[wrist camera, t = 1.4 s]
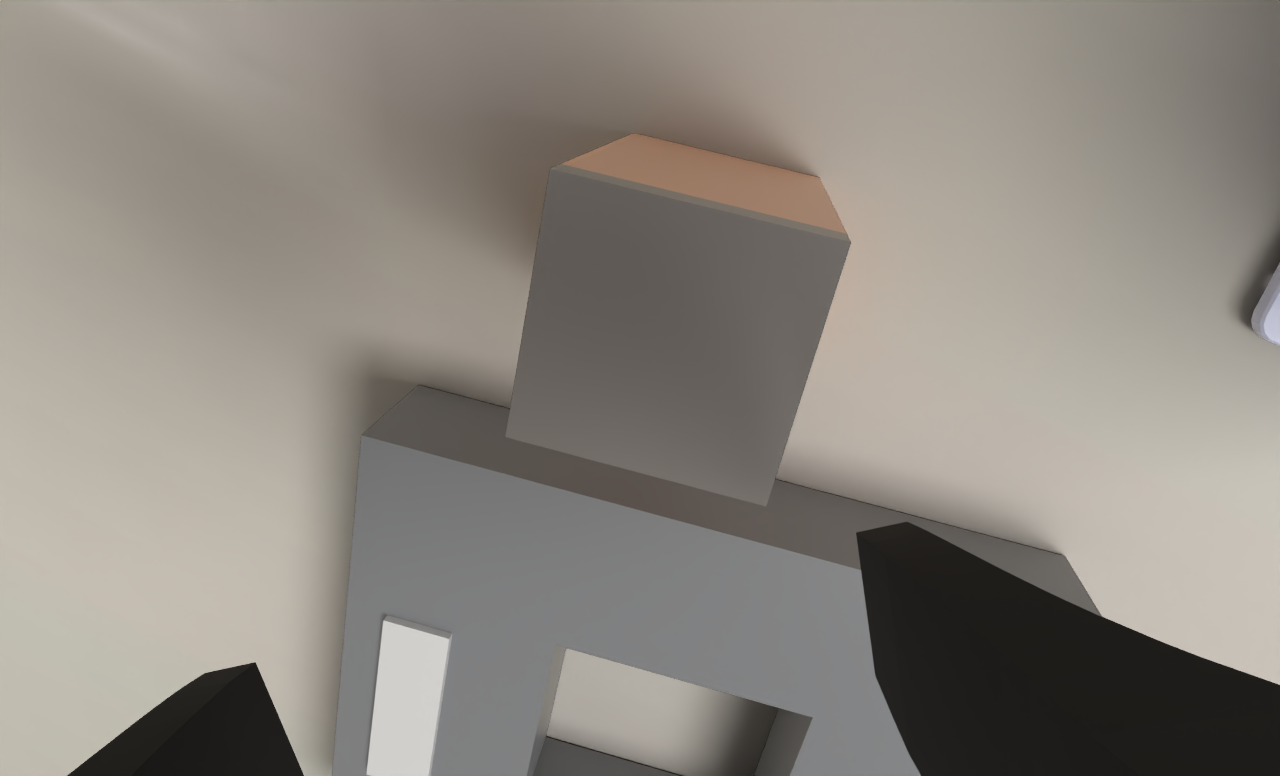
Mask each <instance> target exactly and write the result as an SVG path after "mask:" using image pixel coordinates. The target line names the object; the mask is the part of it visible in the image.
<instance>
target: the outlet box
mask: <svg viewBox="0 0 1280 776" xmlns="http://www.w3.org/2000/svg"><path fill="white" fill-rule="evenodd" d="M509 412H510V409H508V408H504V407H500V406H496V405H492V404H489V403H485V402H481V401H477V400H474V399H470V398H466V397H462V396H459V395H455V394H451V393H447V392H443V391H440V390H436V389H432V388H428V387H425V386H421V385H418V386H417V387H416V388H415V389H413V390H412V391H411V392H410V393H409V394H408V395H407V396H405V397H404V398H403V399H402V400H401V401H400V402H399V403H397V404H396V405H395V406H394V407H393V408H392V409H391V410H389V411H388V412H387V413H386V414H385V415H384V416H383V417H381V418H380V419H379V420H378V421H377V422H376V423H375V424H373V425H372V426H371V427H370V428H369V429H368V430H367V431H366V432H364V433H363V434H362V435H361V445H360V456H359V468H358V479H357V491H356V502H355V514H354V525H353V537H352V549H351V560H350V572H349V583H348V595H347V606H346V618H345V630H344V641H343V653H342V664H341V676H340V687H339V699H338V710H337V722H336V734H335V745H334V757H333V768H332V776H679V775H675V774H672V773H668V772H665V771H662V770H658V769H655V768H651V767H648V766H644V765H641V764H637V763H634V762H631V761H627V760H624V759H620V758H617V757H613V756H610V755H606V754H603V753H600V752H596V751H593V750H589V749H586V748H582V747H579V746H575V745H572V744H568V743H565V742H562V741H558V740H555V739H551V738H548V737H546V735H547V731H548V726H549V722H550V717H551V713H552V708H553V704H554V699H555V695H556V691H557V686H558V682H559V677H560V673H561V668H562V664H563V660H564V655H565V651H566V648H568V649H572V650H575V651H579V652H582V653H586V654H589V655H593V656H597V657H600V658H604V659H607V660H611V661H614V662H618V663H621V664H625V665H628V666H632V667H636V668H639V669H643V670H646V671H650V672H653V673H657V674H660V675H664V676H667V677H671V678H674V679H678V680H682V681H685V682H689V683H692V684H696V685H699V686H703V687H706V688H710V689H713V690H717V691H720V692H724V693H728V694H731V695H735V696H738V697H742V698H745V699H749V700H752V701H756V702H759V703H763V704H766V705H770V706H774V707H777V708H779V709H778V712H777V715H776V717H775V720H774V723H773V725H772V728H771V731H770V734H769V736H768V739H767V742H766V744H765V747H764V750H763V752H762V755H761V758H760V760H759V763H758V766H757V769H756V771H755V774H754V776H921V775H920V773H919V771H918V769H917V768H916V766H915V764H914V762H913V760H912V759H911V757H910V755H909V753H908V751H907V749H906V746H905V744H904V742H903V739H902V737H901V735H900V733H899V730H898V728H897V726H896V724H895V721H894V719H893V717H892V714H891V712H890V710H889V707H888V705H887V703H886V700H885V698H884V695H883V693H882V691H881V688H880V686H879V684H878V681H877V679H876V676H875V670H874V662H873V655H872V648H871V640H870V633H869V625H868V618H867V611H866V603H865V596H864V588H863V581H862V573H861V566H860V559H859V551H858V544H857V536H856V532H861V531H865V530H870V529H875V528H879V527H884V526H888V525H893V524H898V523H902V522H909V523H912V524H914V525H916V526H918V527H920V528H922V529H924V530H927V531H929V532H931V533H932V534H934V535H936V536H938V537H940V538H942V539H944V540H946V541H948V542H950V543H952V544H954V545H956V546H958V547H960V548H962V549H963V550H965V551H967V552H969V553H971V554H973V555H975V556H977V557H979V558H981V559H983V560H985V561H987V562H989V563H991V564H993V565H994V566H996V567H998V568H1000V569H1002V570H1004V571H1006V572H1008V573H1010V574H1012V575H1014V576H1016V577H1018V578H1020V579H1022V580H1024V581H1026V582H1028V583H1031V584H1033V585H1035V586H1037V587H1039V588H1041V589H1043V590H1045V591H1047V592H1049V593H1051V594H1053V595H1055V596H1057V597H1060V598H1062V599H1064V600H1066V601H1068V602H1070V603H1073V604H1075V605H1077V606H1079V607H1081V608H1083V609H1086V610H1088V611H1090V612H1092V613H1094V614H1097V615H1099V616H1101V614H1100V612H1099V611H1098V609H1097V608H1096V606H1095V604H1094V603H1093V601H1092V599H1091V598H1090V596H1089V594H1088V593H1087V591H1086V590H1085V588H1084V586H1083V585H1082V583H1081V581H1080V580H1079V578H1078V576H1077V575H1076V573H1075V572H1074V570H1073V568H1072V567H1071V565H1070V563H1069V562H1068V560H1067V558H1066V557H1065V556H1063V555H1059V554H1055V553H1051V552H1048V551H1044V550H1040V549H1036V548H1032V547H1029V546H1025V545H1021V544H1017V543H1014V542H1010V541H1006V540H1002V539H998V538H995V537H991V536H987V535H983V534H980V533H976V532H972V531H968V530H964V529H961V528H957V527H953V526H949V525H946V524H942V523H938V522H934V521H931V520H927V519H923V518H919V517H915V516H912V515H908V514H904V513H900V512H897V511H893V510H889V509H885V508H881V507H878V506H874V505H870V504H866V503H863V502H859V501H855V500H851V499H847V498H844V497H840V496H836V495H832V494H829V493H825V492H821V491H817V490H813V489H810V488H806V487H802V486H798V485H795V484H791V483H787V482H783V481H779V480H776V479H775V480H774V484H773V487H772V490H771V493H770V496H769V499H768V502H767V505H766V506H762V505H759V504H755V503H751V502H747V501H743V500H740V499H736V498H732V497H728V496H725V495H721V494H717V493H713V492H710V491H706V490H702V489H698V488H695V487H691V486H687V485H683V484H680V483H676V482H672V481H668V480H665V479H661V478H657V477H653V476H650V475H646V474H642V473H638V472H635V471H631V470H627V469H623V468H620V467H616V466H612V465H608V464H605V463H601V462H597V461H593V460H589V459H586V458H582V457H578V456H574V455H571V454H567V453H563V452H559V451H556V450H552V449H548V448H544V447H541V446H537V445H533V444H529V443H526V442H522V441H518V440H514V439H511V438H507V437H505V436H506V430H507V424H508V418H509ZM1101 617H1102V616H1101Z"/></svg>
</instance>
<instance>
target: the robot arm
mask: <svg viewBox="0 0 1280 776" xmlns="http://www.w3.org/2000/svg"><path fill="white" fill-rule="evenodd" d="M1251 323H1252V329H1253V330H1254V331H1255V333H1256V334H1257V335H1258V336H1259V337H1261V338H1263V339H1265V340H1267V341H1269V342H1271V343H1273V344H1276V345H1280V263H1279V265H1278V267H1277V269H1276V271H1275V272H1274V274H1273V276H1272V278H1271V280H1270V282H1269V284H1268V285H1267V287H1266V289H1265V291H1264V293H1263V295H1262V297H1261V298H1260V300H1259V302H1258V304H1257V306H1256V308H1255V309H1254V312H1253V315H1252V318H1251ZM856 536H857V544H858V551H859V559H860V566H861V573H862V581H863V588H864V596H865V603H866V611H867V618H868V625H869V633H870V640H871V648H872V655H873V662H874V670H875V676H876V679H877V681H878V684H879V686H880V688H881V691H882V693H883V695H884V698H885V700H886V703H887V705H888V707H889V710H890V712H891V714H892V717H893V719H894V721H895V724H896V726H897V728H898V730H899V733H900V735H901V737H902V739H903V742H904V744H905V746H906V749H907V751H908V753H909V755H910V757H911V759H912V760H913V762H914V764H915V766H916V768H917V769H918V771H919V773H920V775H921V776H1280V685H1278V684H1275V683H1272V682H1270V681H1267V680H1264V679H1261V678H1258V677H1255V676H1253V675H1250V674H1247V673H1244V672H1241V671H1238V670H1236V669H1233V668H1230V667H1227V666H1224V665H1221V664H1218V663H1216V662H1213V661H1210V660H1207V659H1204V658H1201V657H1199V656H1196V655H1194V654H1191V653H1188V652H1186V651H1183V650H1181V649H1178V648H1176V647H1173V646H1170V645H1168V644H1165V643H1163V642H1160V641H1158V640H1155V639H1153V638H1151V637H1148V636H1146V635H1144V634H1141V633H1139V632H1137V631H1134V630H1132V629H1130V628H1127V627H1125V626H1123V625H1120V624H1118V623H1115V622H1113V621H1111V620H1108V619H1106V618H1104V617H1101V616H1099V615H1097V614H1094V613H1092V612H1090V611H1088V610H1086V609H1083V608H1081V607H1079V606H1077V605H1075V604H1073V603H1070V602H1068V601H1066V600H1064V599H1062V598H1060V597H1057V596H1055V595H1053V594H1051V593H1049V592H1047V591H1045V590H1043V589H1041V588H1039V587H1037V586H1035V585H1033V584H1031V583H1028V582H1026V581H1024V580H1022V579H1020V578H1018V577H1016V576H1014V575H1012V574H1010V573H1008V572H1006V571H1004V570H1002V569H1000V568H998V567H996V566H994V565H993V564H991V563H989V562H987V561H985V560H983V559H981V558H979V557H977V556H975V555H973V554H971V553H969V552H967V551H965V550H963V549H962V548H960V547H958V546H956V545H954V544H952V543H950V542H948V541H946V540H944V539H942V538H940V537H938V536H936V535H934V534H932V533H931V532H929V531H927V530H924V529H922V528H920V527H918V526H916V525H914V524H912V523H909V522H902V523H898V524H893V525H888V526H884V527H879V528H875V529H870V530H865V531H861V532H856ZM68 776H304V775H303V772H302V770H301V768H300V765H299V763H298V761H297V758H296V756H295V754H294V751H293V749H292V747H291V744H290V742H289V740H288V737H287V735H286V733H285V730H284V728H283V726H282V723H281V721H280V719H279V716H278V714H277V712H276V709H275V707H274V705H273V702H272V700H271V698H270V695H269V693H268V691H267V688H266V686H265V683H264V681H263V679H262V676H261V674H260V672H259V669H258V667H257V665H256V662H255V663H250V664H245V665H241V666H236V667H232V668H227V669H222V670H218V671H213V672H208V673H205V674H203V675H201V676H200V677H198V678H197V679H195V680H194V681H192V682H190V683H189V684H187V685H186V686H184V687H183V688H181V689H180V690H178V691H177V692H176V693H174V694H173V695H171V696H170V697H169V698H167V699H166V700H165V701H163V702H162V703H160V704H159V705H158V706H156V707H155V708H154V709H152V710H151V711H150V712H148V713H147V714H146V715H144V716H143V717H142V718H141V719H139V720H138V721H137V722H135V723H134V724H133V725H131V726H130V727H129V728H128V729H126V730H125V731H124V732H122V733H121V734H120V735H119V736H117V737H116V738H115V739H113V740H112V741H111V742H110V743H108V744H107V745H106V746H105V747H103V748H102V749H101V750H99V751H98V752H97V753H96V754H94V755H93V756H92V757H90V758H89V759H88V760H87V761H85V762H84V763H83V764H82V765H80V766H79V767H78V768H76V769H75V770H74V771H73V772H71V773H70V774H69V775H68Z"/></svg>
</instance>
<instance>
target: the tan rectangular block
mask: <svg viewBox="0 0 1280 776" xmlns="http://www.w3.org/2000/svg"><path fill="white" fill-rule="evenodd" d="M850 244H851V241H850V239H849V237H848V235H847V233H846V231H845V229H844V227H843V225H842V223H841V220H840V218H839V216H838V214H837V212H836V210H835V208H834V206H833V204H832V202H831V200H830V198H829V196H828V194H827V192H826V190H825V188H824V185H823V183H822V181H821V179H820V178H819V177H815V176H811V175H806V174H802V173H798V172H794V171H790V170H786V169H781V168H777V167H773V166H769V165H765V164H761V163H757V162H752V161H748V160H744V159H740V158H736V157H732V156H727V155H723V154H719V153H715V152H711V151H707V150H702V149H698V148H694V147H690V146H686V145H682V144H678V143H673V142H669V141H665V140H661V139H657V138H653V137H648V136H644V135H640V134H636V133H633V134H630V135H628V136H626V137H623V138H621V139H619V140H616V141H614V142H611V143H609V144H607V145H604V146H602V147H600V148H597V149H595V150H592V151H590V152H588V153H585V154H583V155H581V156H578V157H576V158H574V159H571V160H569V161H566V162H564V163H562V164H559V165H557V166H555V167H552V168H550V170H549V176H548V182H547V188H546V194H545V200H544V207H543V213H542V219H541V225H540V231H539V237H538V243H537V249H536V255H535V261H534V267H533V273H532V279H531V285H530V291H529V297H528V303H527V309H526V315H525V321H524V327H523V333H522V339H521V345H520V351H519V357H518V363H517V369H516V375H515V381H514V387H513V393H512V399H511V406H510V412H509V418H508V424H507V430H506V436H505V437H507V438H511V439H514V440H518V441H522V442H526V443H529V444H533V445H537V446H541V447H544V448H548V449H552V450H556V451H559V452H563V453H567V454H571V455H574V456H578V457H582V458H586V459H589V460H593V461H597V462H601V463H605V464H608V465H612V466H616V467H620V468H623V469H627V470H631V471H635V472H638V473H642V474H646V475H650V476H653V477H657V478H661V479H665V480H668V481H672V482H676V483H680V484H683V485H687V486H691V487H695V488H698V489H702V490H706V491H710V492H713V493H717V494H721V495H725V496H728V497H732V498H736V499H740V500H743V501H747V502H751V503H755V504H759V505H762V506H766V505H767V502H768V499H769V496H770V493H771V490H772V487H773V484H774V480H775V477H776V474H777V471H778V468H779V465H780V462H781V459H782V456H783V452H784V449H785V446H786V443H787V440H788V437H789V434H790V431H791V428H792V424H793V421H794V418H795V415H796V412H797V409H798V406H799V403H800V400H801V396H802V393H803V390H804V387H805V384H806V381H807V378H808V375H809V372H810V368H811V365H812V362H813V359H814V356H815V353H816V350H817V347H818V344H819V340H820V337H821V334H822V331H823V328H824V325H825V322H826V319H827V316H828V312H829V309H830V306H831V303H832V300H833V297H834V294H835V291H836V288H837V284H838V281H839V278H840V275H841V272H842V269H843V266H844V263H845V260H846V256H847V253H848V250H849V247H850Z"/></svg>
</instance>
